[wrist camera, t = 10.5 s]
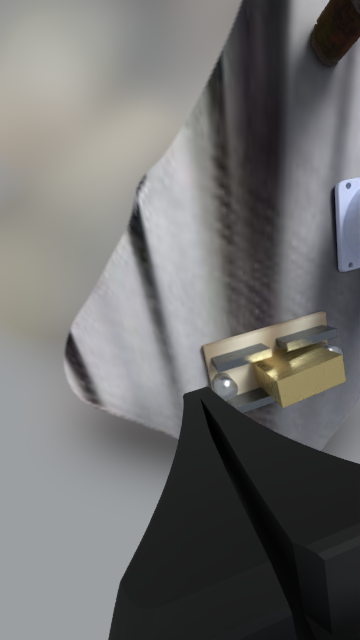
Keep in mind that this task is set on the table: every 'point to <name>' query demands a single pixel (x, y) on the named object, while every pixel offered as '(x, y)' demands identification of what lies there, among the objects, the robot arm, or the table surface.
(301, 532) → the robot arm
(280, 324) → the plywood plate
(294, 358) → the khaki rectangular block
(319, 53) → the bolt
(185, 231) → the table surface
